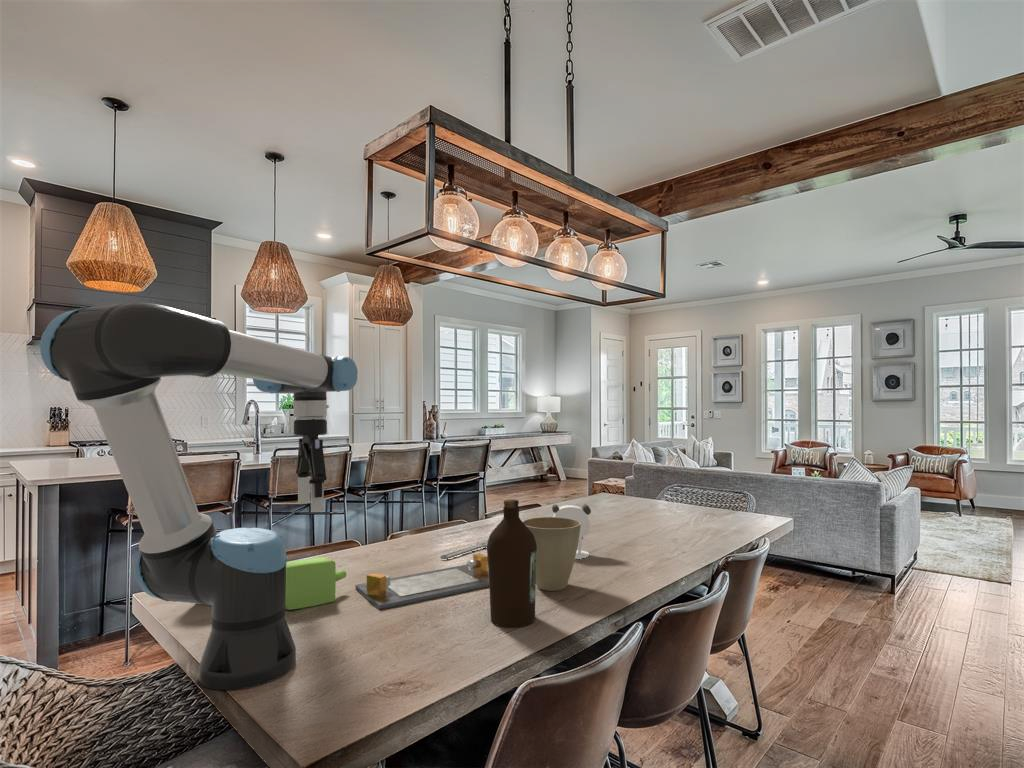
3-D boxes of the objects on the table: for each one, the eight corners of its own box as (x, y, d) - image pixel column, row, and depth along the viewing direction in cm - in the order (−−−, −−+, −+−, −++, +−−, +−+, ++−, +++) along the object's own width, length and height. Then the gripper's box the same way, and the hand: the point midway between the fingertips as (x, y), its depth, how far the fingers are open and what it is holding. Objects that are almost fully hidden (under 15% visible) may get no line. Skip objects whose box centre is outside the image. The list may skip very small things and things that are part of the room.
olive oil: (486, 629, 112) (484, 504, 113) (489, 610, 122) (487, 496, 123) (538, 629, 111) (536, 504, 113) (537, 610, 122) (535, 496, 123)
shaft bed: (504, 583, 141) (504, 561, 142) (379, 609, 124) (379, 585, 124) (471, 567, 157) (471, 547, 157) (355, 588, 139) (355, 566, 139)
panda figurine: (589, 550, 174) (588, 502, 175) (593, 559, 163) (592, 508, 163) (551, 550, 174) (550, 502, 175) (552, 560, 163) (551, 508, 164)
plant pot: (546, 600, 128) (545, 531, 129) (511, 584, 140) (510, 521, 141) (594, 588, 136) (593, 523, 137) (557, 574, 149) (556, 514, 149)
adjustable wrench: (444, 563, 164) (444, 557, 164) (430, 559, 168) (430, 553, 168) (502, 546, 182) (502, 541, 182) (489, 543, 186) (489, 538, 186)
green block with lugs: (340, 590, 140) (340, 551, 141) (354, 598, 132) (354, 557, 133) (264, 604, 129) (264, 562, 130) (274, 614, 121) (275, 569, 122)
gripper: (340, 418, 125) (340, 513, 124) (314, 418, 146) (314, 499, 145) (305, 419, 121) (305, 517, 120) (283, 418, 142) (283, 502, 141)
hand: (310, 507), depth 132 cm, fingers open, 13 cm apart
